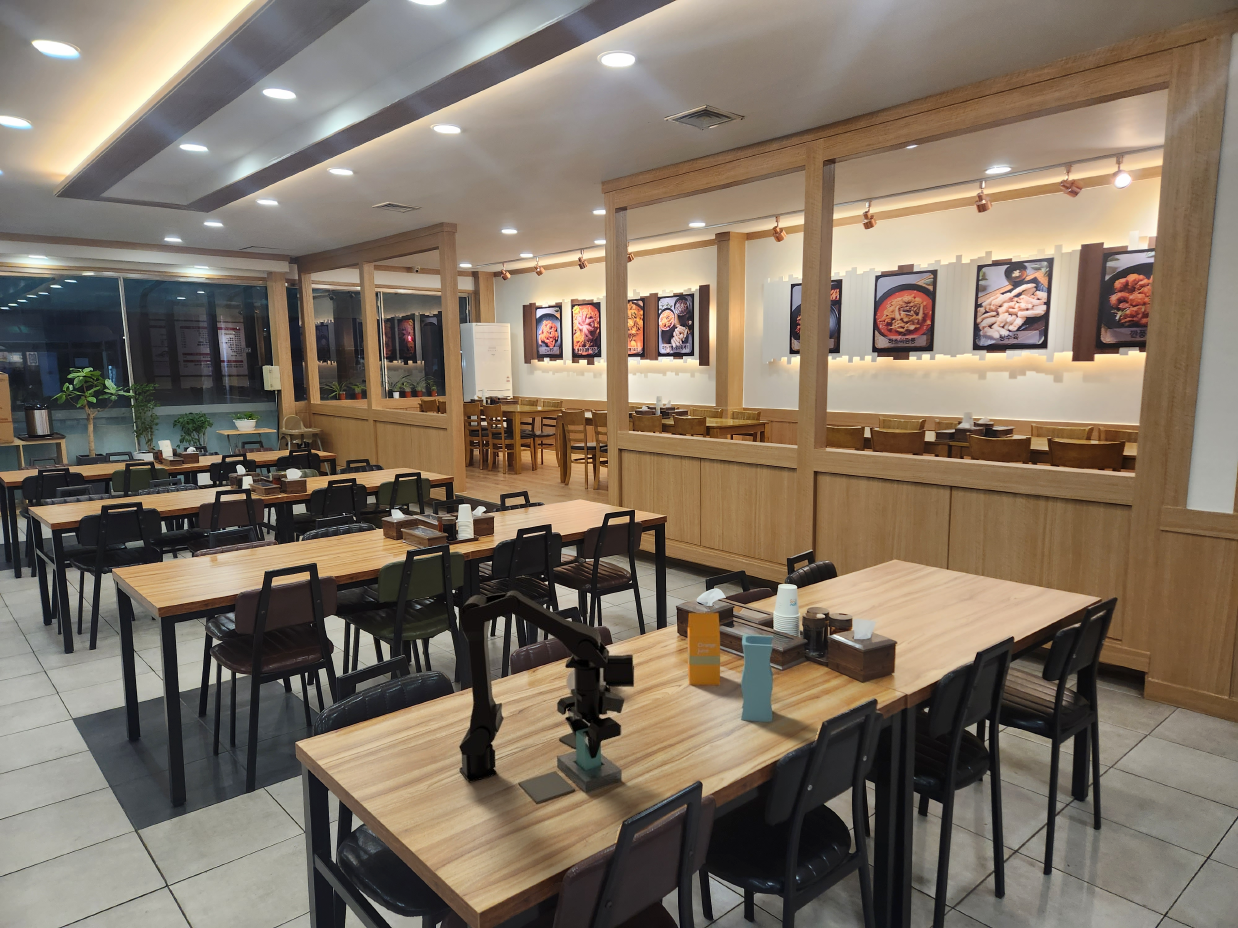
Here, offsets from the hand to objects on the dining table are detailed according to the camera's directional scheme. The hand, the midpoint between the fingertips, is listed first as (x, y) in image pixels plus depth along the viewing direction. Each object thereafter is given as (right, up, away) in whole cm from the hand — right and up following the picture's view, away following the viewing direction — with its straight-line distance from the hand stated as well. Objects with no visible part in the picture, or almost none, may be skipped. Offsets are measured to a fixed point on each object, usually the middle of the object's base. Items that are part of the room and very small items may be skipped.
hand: (588, 753), depth 167 cm
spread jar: (-2, 0, +47) cm, 48 cm away
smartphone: (0, -3, +19) cm, 19 cm away
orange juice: (+31, +1, +53) cm, 61 cm away
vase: (+43, -1, +29) cm, 52 cm away
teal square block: (0, -3, 0) cm, 3 cm away
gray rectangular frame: (0, -5, 0) cm, 5 cm away
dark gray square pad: (-9, -5, -5) cm, 11 cm away
